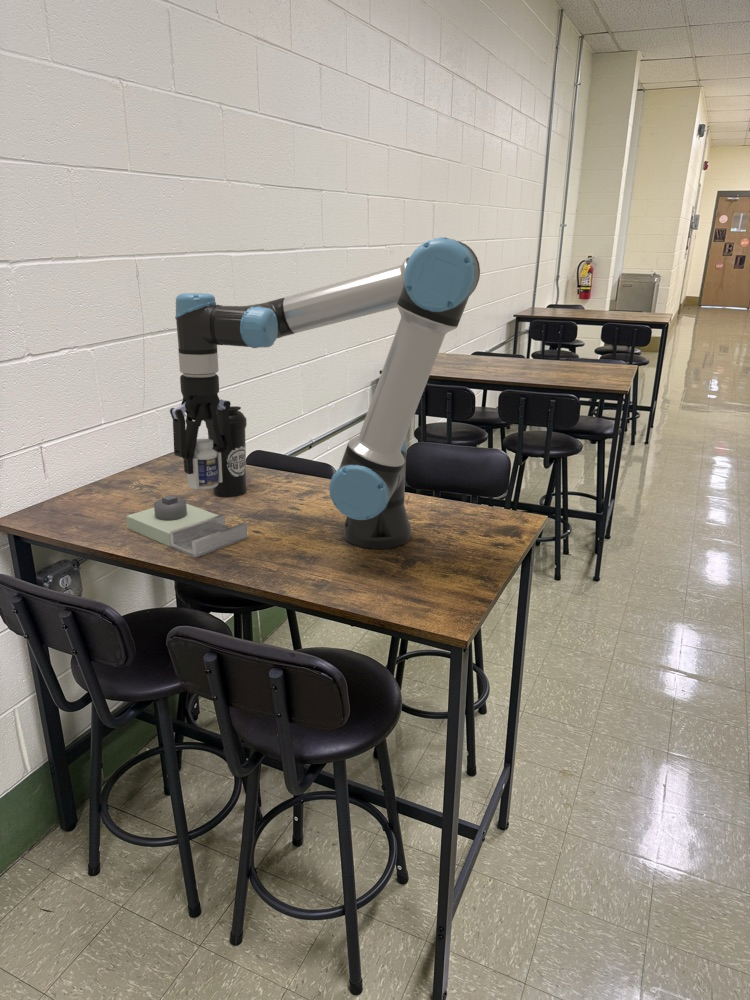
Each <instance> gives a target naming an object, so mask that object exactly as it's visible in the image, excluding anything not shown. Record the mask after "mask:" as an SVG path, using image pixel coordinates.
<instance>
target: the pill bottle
mask: <svg viewBox="0 0 750 1000" xmlns="http://www.w3.org/2000/svg"><path fill="white" fill-rule="evenodd" d="M212 448H213V440H211V439H208V438H197V442H196V447H195V453H194V458H197V459H198V476H199V489H198V490H208V489H209V490H210V489H213V488H214V487H216V486H217V485H218V463H217V452H216V451H215V450H213V449H212Z"/></svg>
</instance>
